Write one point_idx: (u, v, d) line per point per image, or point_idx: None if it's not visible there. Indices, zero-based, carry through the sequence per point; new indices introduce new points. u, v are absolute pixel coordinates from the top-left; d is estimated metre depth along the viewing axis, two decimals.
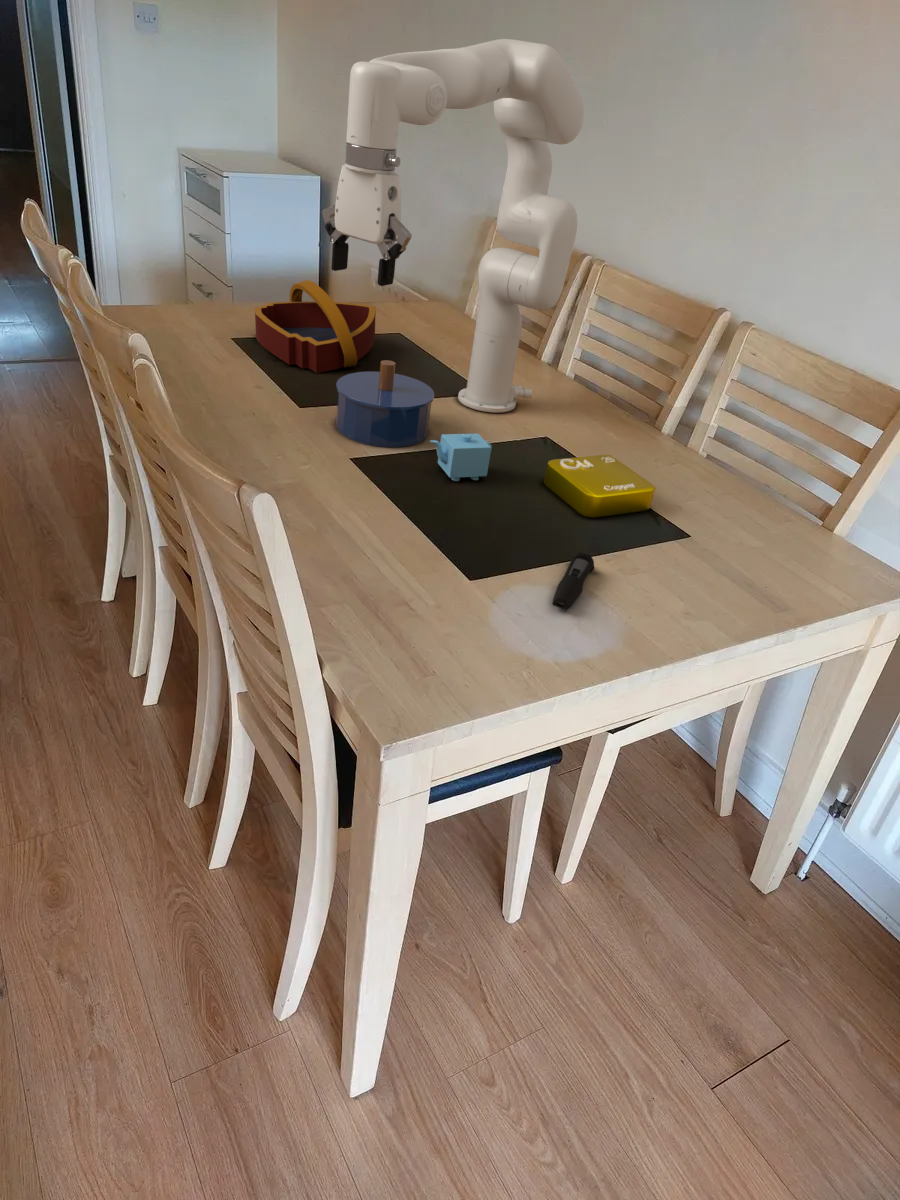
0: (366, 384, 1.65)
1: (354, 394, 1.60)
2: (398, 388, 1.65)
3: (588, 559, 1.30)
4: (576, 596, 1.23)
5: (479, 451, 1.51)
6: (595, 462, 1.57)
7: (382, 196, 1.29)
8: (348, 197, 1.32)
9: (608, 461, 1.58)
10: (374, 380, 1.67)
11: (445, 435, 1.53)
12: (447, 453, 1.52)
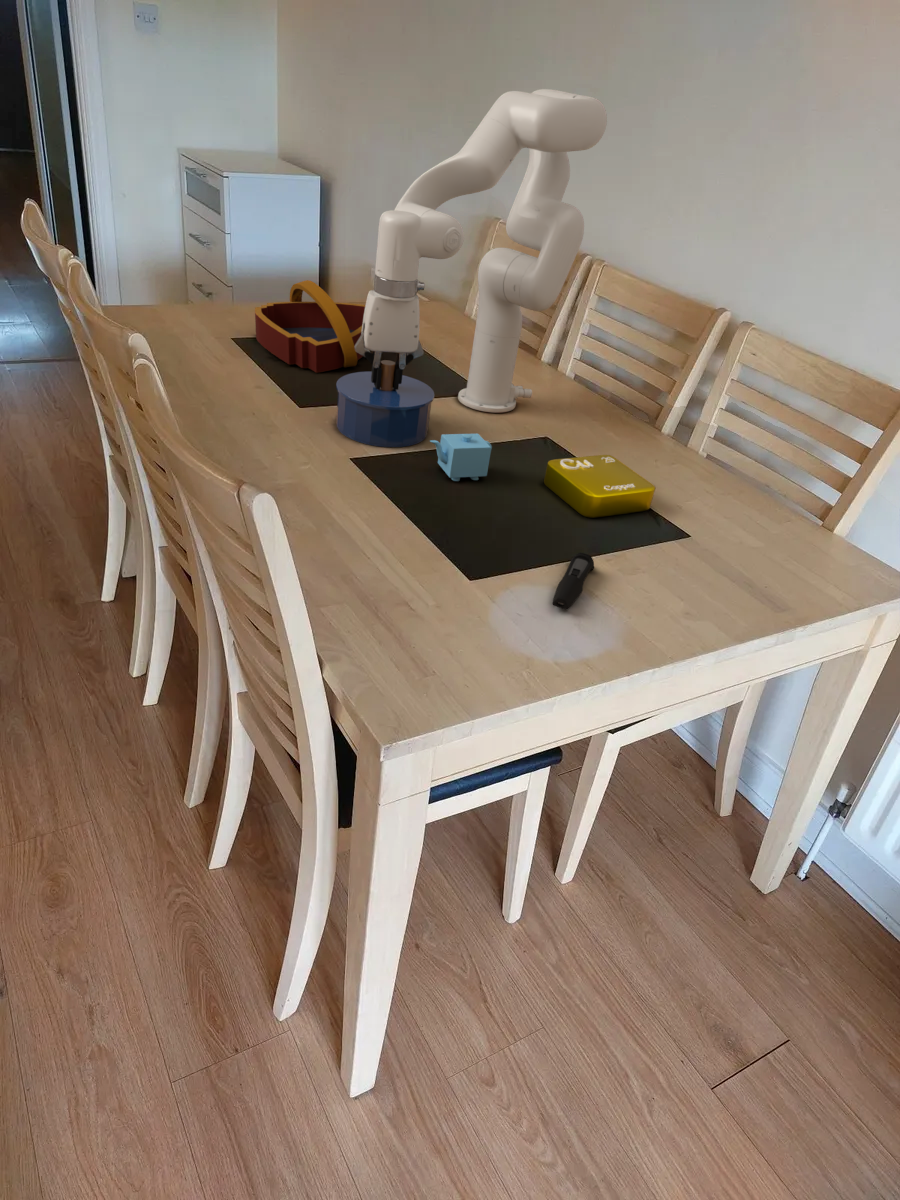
0: (366, 384, 1.65)
1: (354, 394, 1.60)
2: (398, 388, 1.65)
3: (588, 559, 1.30)
4: (576, 596, 1.23)
5: (479, 451, 1.51)
6: (595, 462, 1.57)
7: (418, 315, 1.56)
8: (385, 321, 1.55)
9: (608, 461, 1.58)
10: None
11: (445, 435, 1.53)
12: (447, 453, 1.52)
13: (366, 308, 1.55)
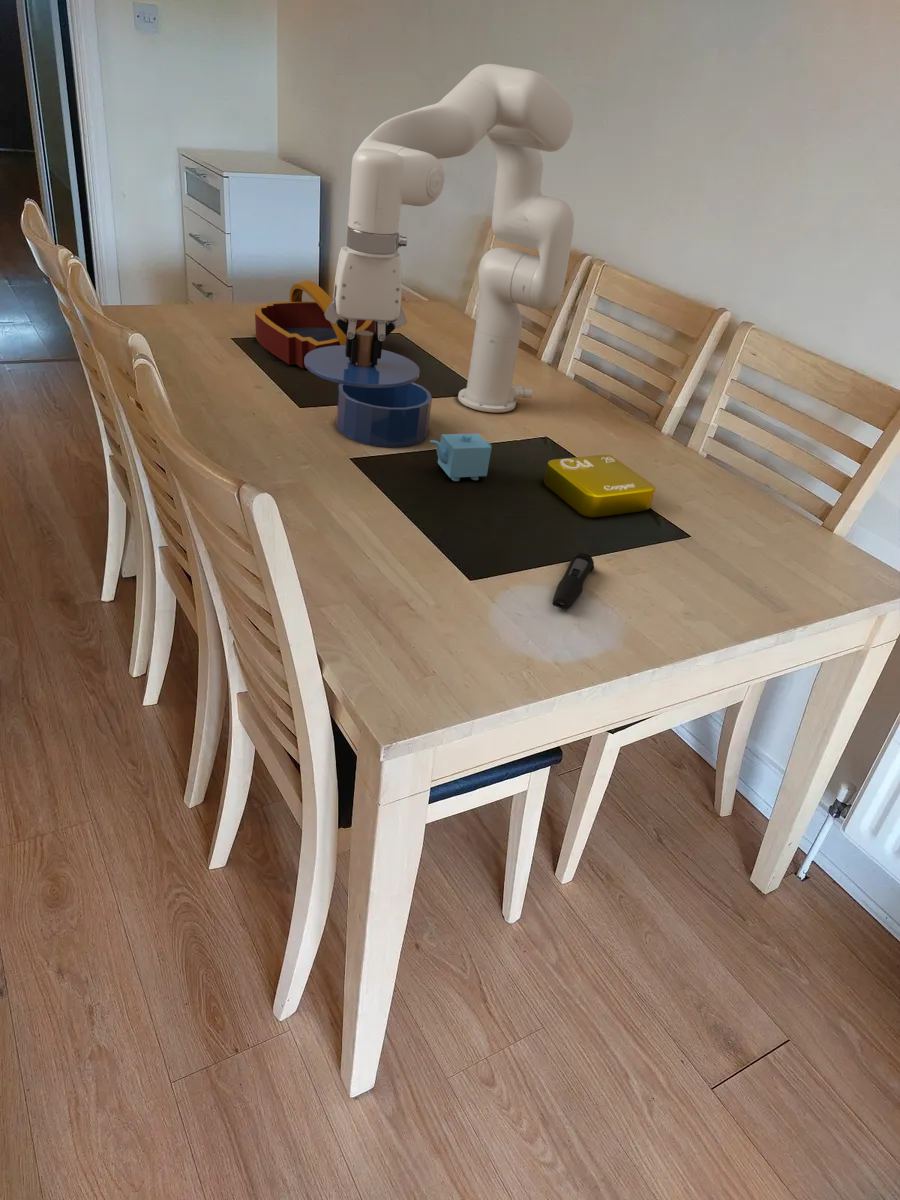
0: (340, 359, 1.41)
1: (324, 369, 1.36)
2: (377, 364, 1.41)
3: (588, 559, 1.30)
4: (576, 596, 1.23)
5: (479, 451, 1.51)
6: (595, 462, 1.57)
7: (400, 276, 1.32)
8: (360, 283, 1.31)
9: (608, 461, 1.58)
10: None
11: (445, 435, 1.53)
12: (447, 453, 1.52)
13: (338, 267, 1.31)
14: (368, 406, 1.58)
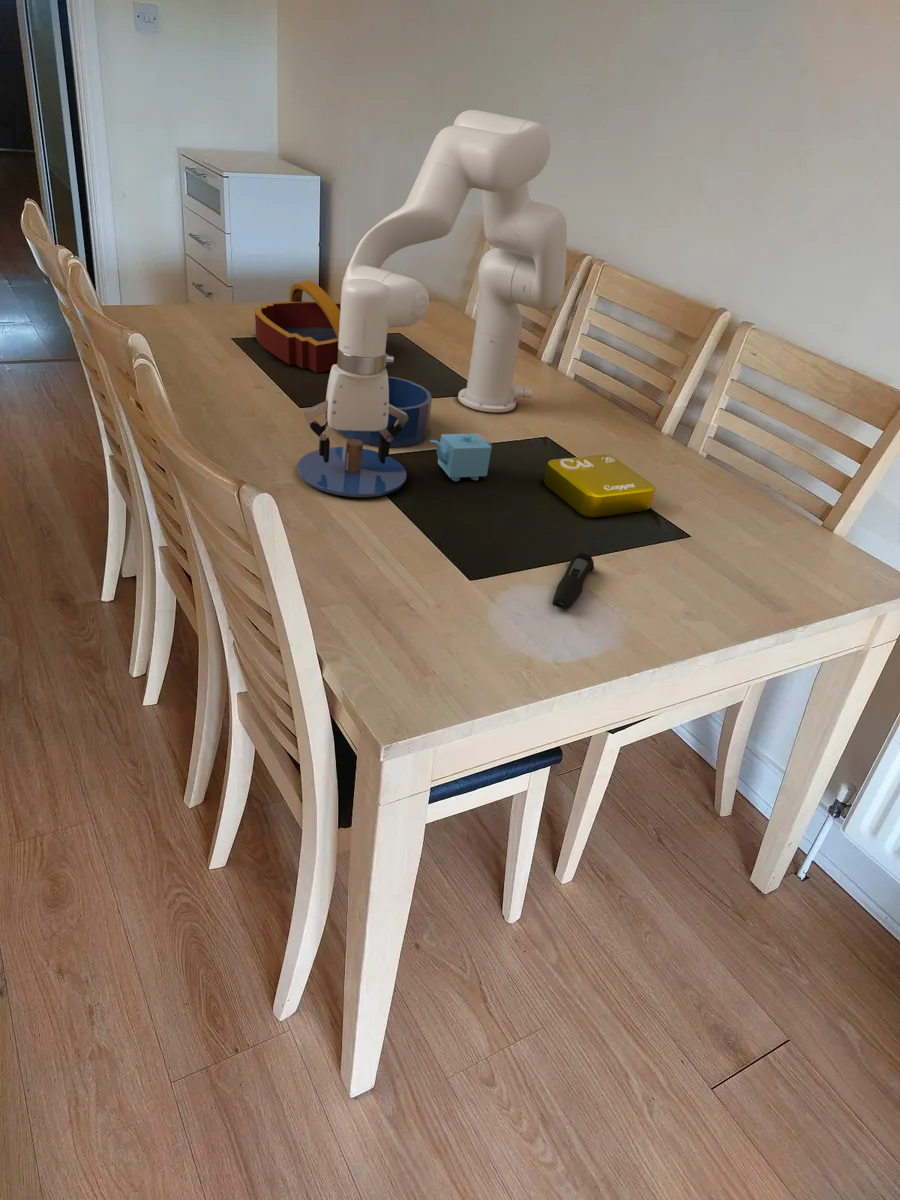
0: (331, 464, 1.49)
1: (317, 478, 1.44)
2: (367, 468, 1.50)
3: (588, 559, 1.30)
4: (576, 596, 1.23)
5: (479, 451, 1.51)
6: (595, 462, 1.57)
7: (387, 392, 1.41)
8: (350, 399, 1.39)
9: (608, 461, 1.58)
10: (341, 459, 1.52)
11: (445, 435, 1.53)
12: (447, 453, 1.52)
13: (329, 384, 1.40)
14: None
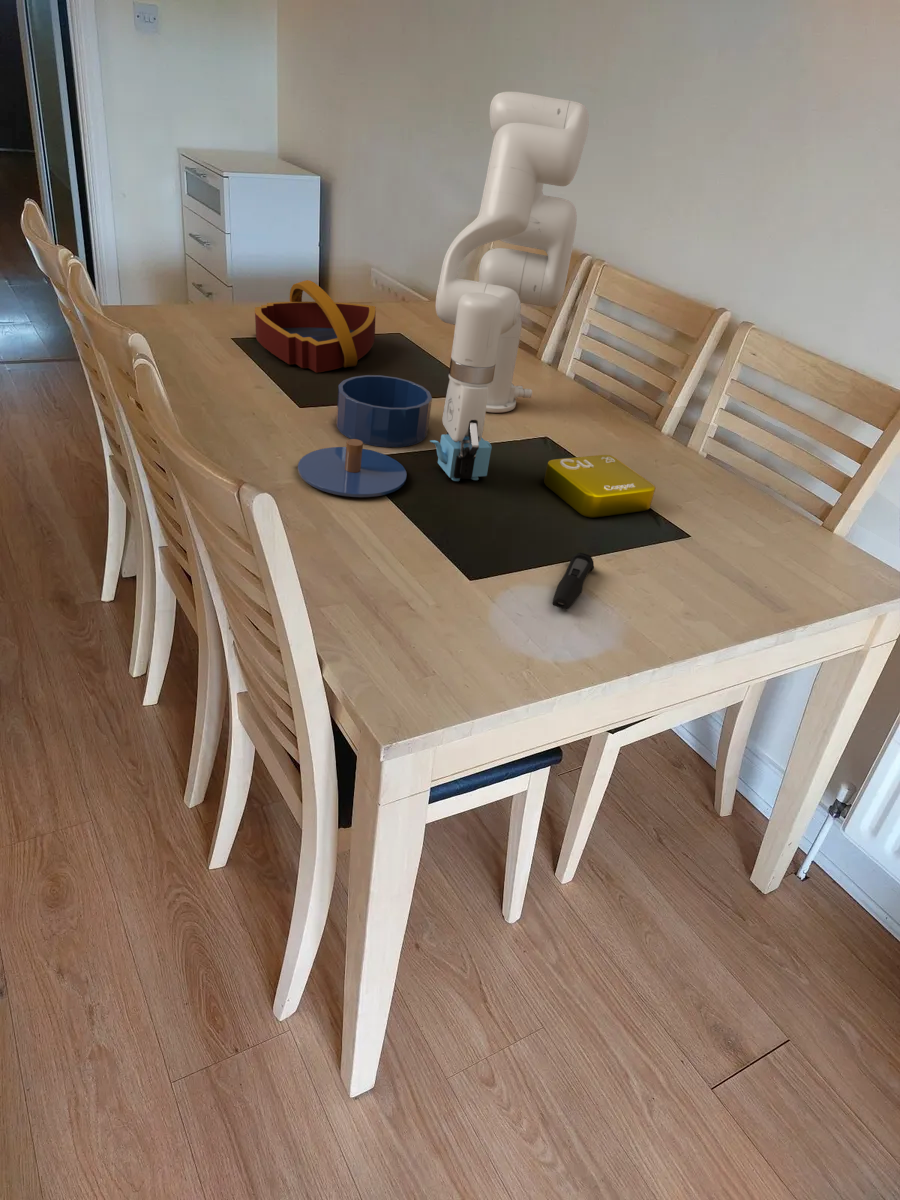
0: (331, 464, 1.49)
1: (317, 478, 1.44)
2: (367, 468, 1.50)
3: (588, 559, 1.30)
4: (576, 596, 1.23)
5: (479, 451, 1.51)
6: (595, 462, 1.57)
7: None
8: None
9: (608, 461, 1.58)
10: (341, 459, 1.52)
11: (445, 435, 1.53)
12: (447, 453, 1.52)
13: (475, 405, 1.44)
14: (368, 406, 1.58)
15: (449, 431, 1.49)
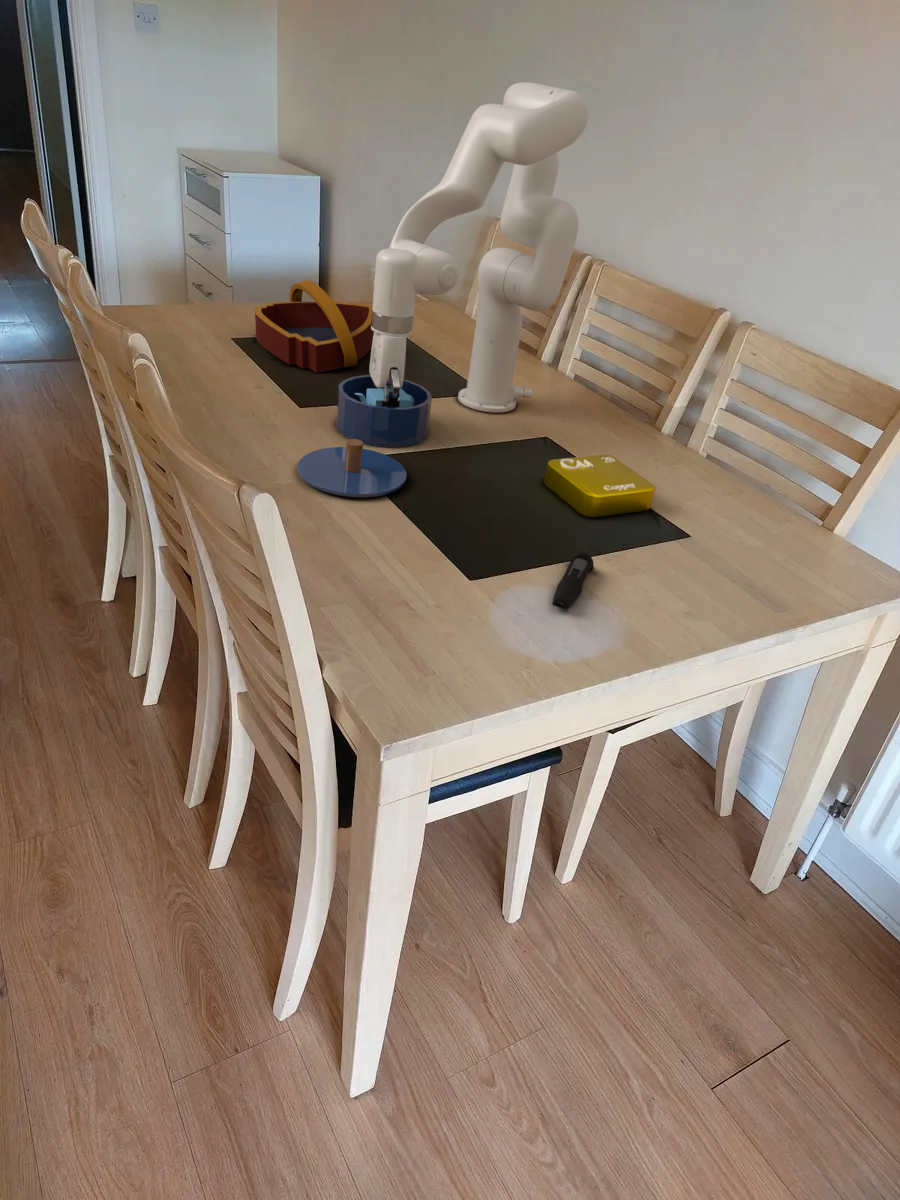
0: (331, 464, 1.49)
1: (317, 478, 1.44)
2: (367, 468, 1.50)
3: (588, 559, 1.30)
4: (576, 596, 1.23)
5: (400, 403, 1.64)
6: (595, 462, 1.57)
7: None
8: None
9: (608, 461, 1.59)
10: (341, 459, 1.52)
11: (370, 389, 1.66)
12: None
13: (395, 353, 1.56)
14: (368, 406, 1.58)
15: (373, 379, 1.62)
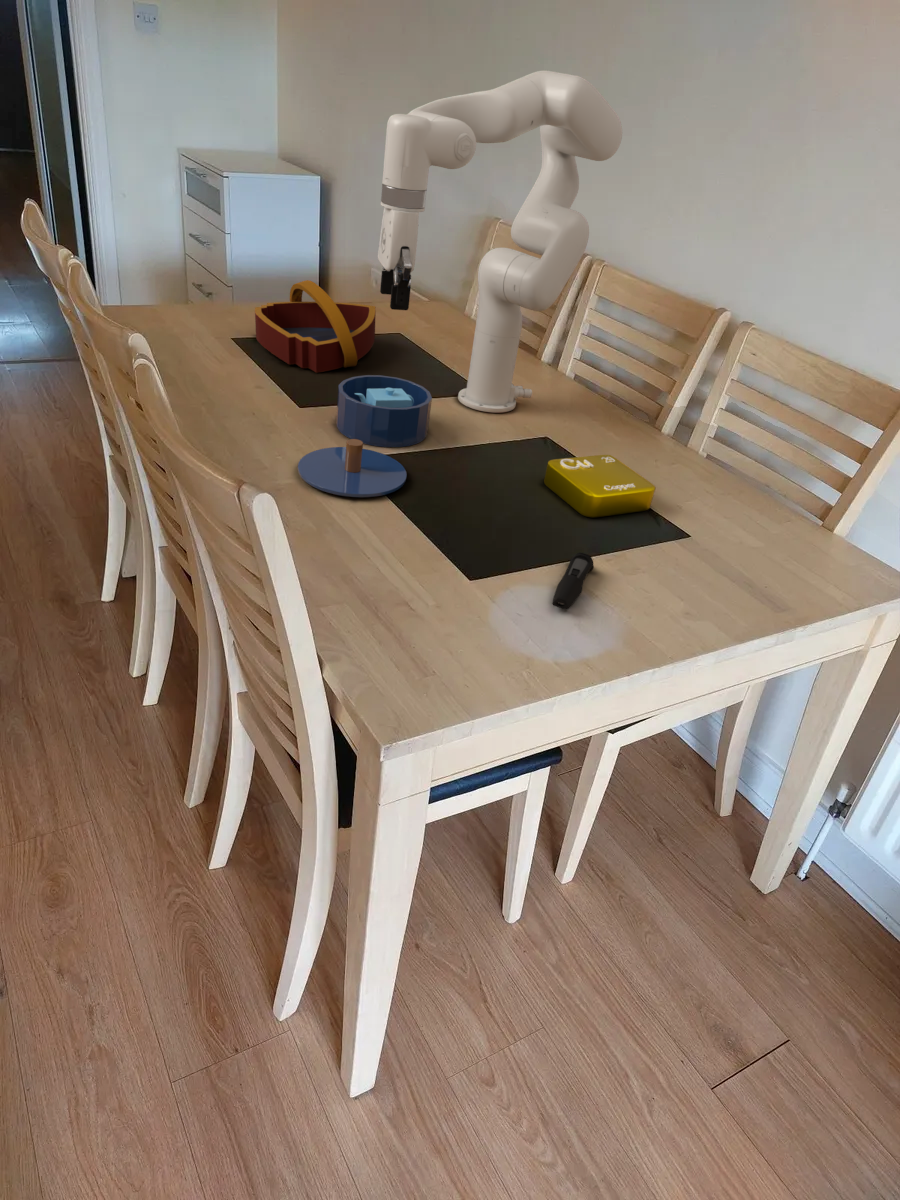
0: (331, 464, 1.49)
1: (317, 478, 1.44)
2: (367, 468, 1.50)
3: (587, 559, 1.30)
4: (576, 596, 1.23)
5: (400, 403, 1.64)
6: (595, 462, 1.57)
7: None
8: None
9: (608, 461, 1.59)
10: (341, 459, 1.52)
11: (370, 389, 1.66)
12: None
13: (406, 230, 1.45)
14: (368, 406, 1.58)
15: (383, 262, 1.50)
